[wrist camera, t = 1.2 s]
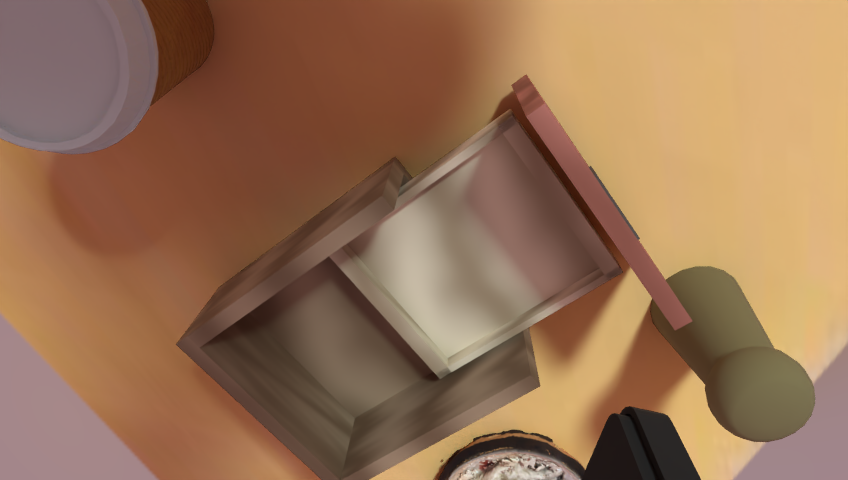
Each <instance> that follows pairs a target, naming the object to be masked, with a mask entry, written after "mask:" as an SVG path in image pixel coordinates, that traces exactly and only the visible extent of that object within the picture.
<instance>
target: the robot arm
mask: <svg viewBox="0 0 848 480" xmlns="http://www.w3.org/2000/svg"><path fill="white" fill-rule="evenodd" d="M581 480H701V479H700V477H699V475H698V473H697V471H696V469H695V467H694V465H693V463H692V461H691V459H690V457H689V455H688V453H687V451H686V449H685V447H684V445H683V443H682V441H681V439H680V437H679V435H678V433H677V431H676V429H675V427H674V425H673V423H672V421H671V420H670V418H669V417H668V416H667V415H665V414H662V413H658V412H653V411H649V410H644V409H639V408H635V407H630V406H629V407H625V408H624V409H623V410H622V412H621V413H620V414H616V413H614V414H611V415H610V416H609V418H608V420H607V422H606V424H605V426H604V428H603V431H602V433H601V435H600V438H599V440H598V442H597V445H596V447H595V449H594V452H593V454H592V456H591V458H590V461H589V463H588V465H587V468H586V470H585V472H584V475H583V477H582V479H581Z"/></svg>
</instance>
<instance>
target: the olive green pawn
mask: <svg viewBox="0 0 848 480" xmlns="http://www.w3.org/2000/svg"><path fill="white" fill-rule="evenodd" d="M666 282H667V283H668V285H669V286H670V288H671V289H672V291H673V292H674V294H675V295H676V297H677V298H678V300H679V301H680V303H681V304H682V306H683V307H684V309H685V310H686V312H687V313H688V315H689V316H690V318H691V319H692V322H690V323H688V324H686V325H685V326H683V327H681V328H679V329H677V330H674V328H673V327H672V326H671V324H670V323H669V321H668V320H667V318H666V317H665V316H664V314H663V313H662V311H661V310H660V308H659V307H658V305H657V304H656V303H655V301H654V300H653V299H652V304H651V311H650V312H651V316H652V320H653V323H654V325H655V326H656V327H657V329H658V330H659V332H660V333H661V334H662V335H663V336H664V337H665V339H666V340H667V341H668V342H669V343H670V344H671V346H672V347H673V348H674V349H675V350H676V351H677V352H678V354H679V355H680V356H681V357H682V358H683V359H684V361H685V362H686V363H687V364H688V365H689V366H690V367H691V369H692V370H693V371H694V372H695V373H696V374H697V376H698V377H699V378H700V379H701V380H702V381H703V383H704V384H705V392H706V397H707V402H708V407H709V408H710V410H711V412H712V414H713V415H714V417H715V418H716V420H717V421H718V422H719V424H720V425H722V426H723V427H724V428H725V429H726V430H728V431H729V432H731V433H732V434H734V435H735V436H738V437H740V438H743V439H746V440H750V441H754V442H770V441H774V440H779V439H782V438H785V437H787V436H789V435H791V434H793V433H795V432H796V431H797V430H799V429H800V428H801V427H803V426H804V425H805V423H806V422H807V420H808V419H809V418H810V417H811V415H812V411H813V408H814V404H815V393H814V386H813V384H812V381H811V379H810V378H809V376H808V374H807V373H806V371H805V370H804V368H803V367H802V366H801V365H800V364H799V363H798V362H797V361H795V360H794V359H792V358H791V357H790V356H788V355H787V354H785V353H783V352H782V351H780V350H776V349H774V347H773V345H772V343H771V342H770V340H769V338H768V336H767V334H766V333H765V331H764V329H763V327H762V325H761V324H760V322H759V320H758V318H757V317H756V315H755V313H754V311H753V309H752V308H751V306H750V304H749V302H748V301H747V299H746V297H745V295H744V293H743V292H742V290H741V288H740V287H739V285H738V283H737V282H736V280H735V279H734V278H733V277H732V276H731V275H729V274H728V273H727V272H725V271H724V270H720V269H717V268H714V267H693V268H689V269H685V270H682V271H680V272H678V273H676V274H674V275H673V276H671V277H669V278H668V279H667V280H666Z"/></svg>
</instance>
